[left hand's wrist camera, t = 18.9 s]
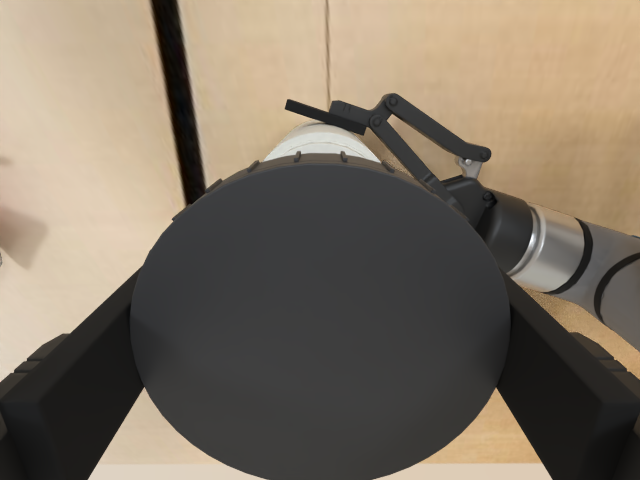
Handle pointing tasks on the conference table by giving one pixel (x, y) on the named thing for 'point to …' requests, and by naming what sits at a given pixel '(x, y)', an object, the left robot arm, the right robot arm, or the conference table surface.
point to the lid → (320, 320)
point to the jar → (320, 141)
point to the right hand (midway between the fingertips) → (271, 164)
